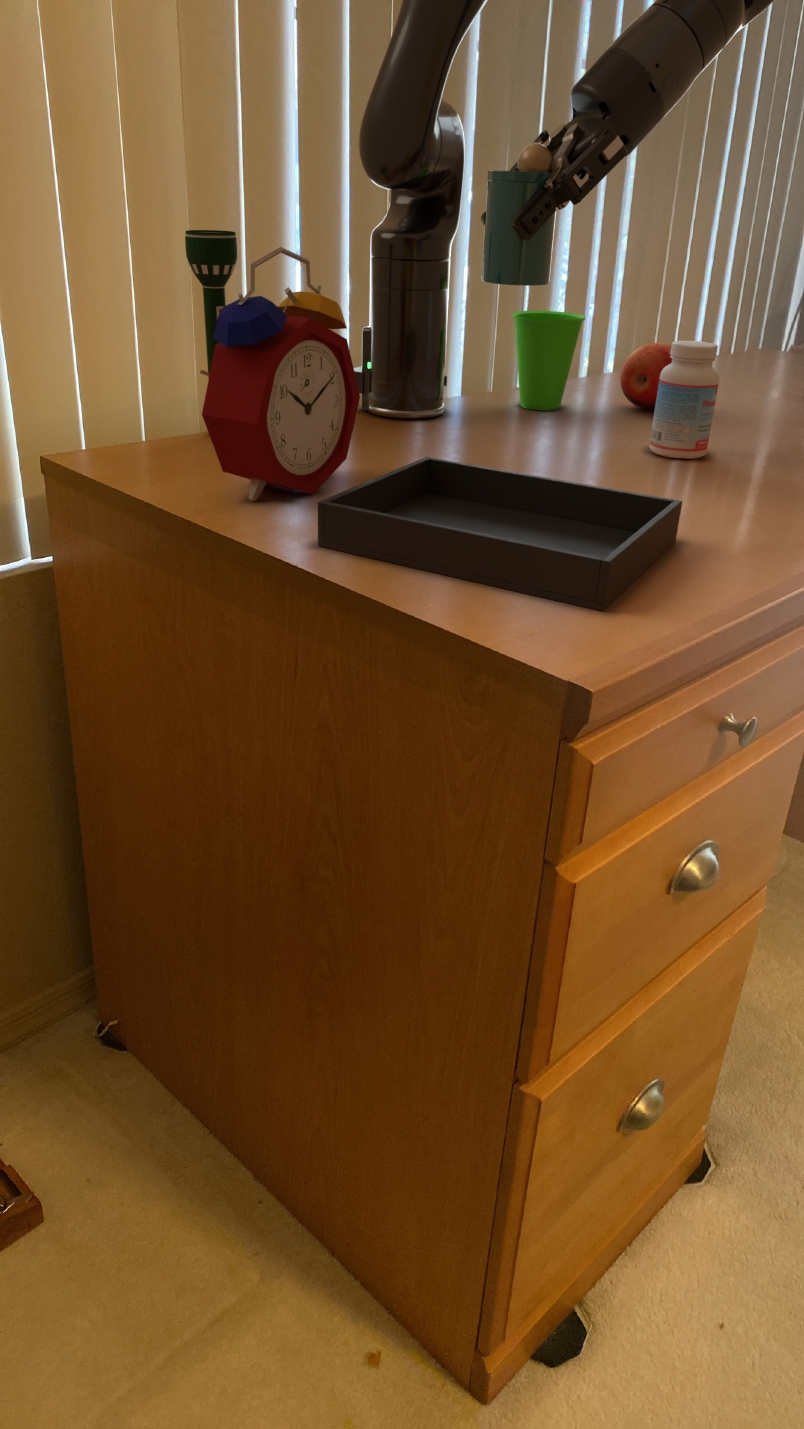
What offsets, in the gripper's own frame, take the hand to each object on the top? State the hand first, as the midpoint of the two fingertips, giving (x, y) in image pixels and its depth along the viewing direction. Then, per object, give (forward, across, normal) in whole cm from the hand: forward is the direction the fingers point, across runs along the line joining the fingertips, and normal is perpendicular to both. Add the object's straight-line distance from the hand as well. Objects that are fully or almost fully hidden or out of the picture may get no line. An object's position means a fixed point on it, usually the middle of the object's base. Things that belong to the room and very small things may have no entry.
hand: (502, 229), depth 88 cm
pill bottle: (-1, -1, +31) cm, 31 cm away
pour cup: (+2, 0, +4) cm, 5 cm away
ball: (-5, +1, -2) cm, 6 cm away
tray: (+21, +23, +9) cm, 32 cm away
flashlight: (+32, -18, -1) cm, 37 cm away
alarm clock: (+31, +3, 0) cm, 31 cm away
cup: (+2, -26, +28) cm, 39 cm away
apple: (-8, -23, +38) cm, 45 cm away
